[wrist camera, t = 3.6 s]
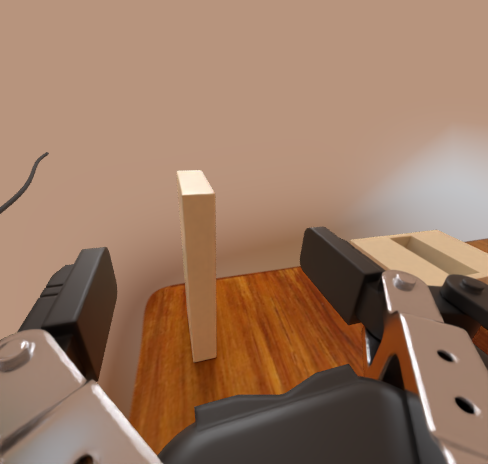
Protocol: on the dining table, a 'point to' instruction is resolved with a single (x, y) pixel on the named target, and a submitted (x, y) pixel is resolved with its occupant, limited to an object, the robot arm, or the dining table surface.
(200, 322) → the tall tan wooden block
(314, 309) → the dining table surface
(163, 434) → the dining table surface
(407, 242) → the tan slotted wooden block
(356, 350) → the dining table surface
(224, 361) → the dining table surface
